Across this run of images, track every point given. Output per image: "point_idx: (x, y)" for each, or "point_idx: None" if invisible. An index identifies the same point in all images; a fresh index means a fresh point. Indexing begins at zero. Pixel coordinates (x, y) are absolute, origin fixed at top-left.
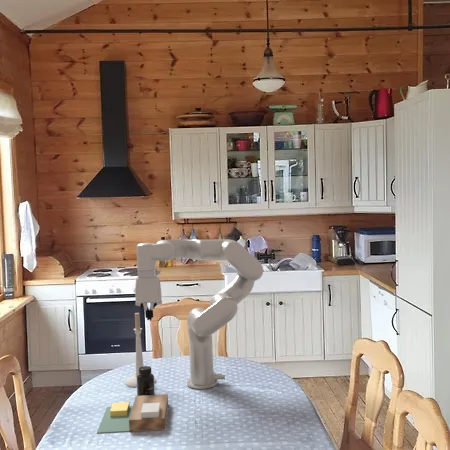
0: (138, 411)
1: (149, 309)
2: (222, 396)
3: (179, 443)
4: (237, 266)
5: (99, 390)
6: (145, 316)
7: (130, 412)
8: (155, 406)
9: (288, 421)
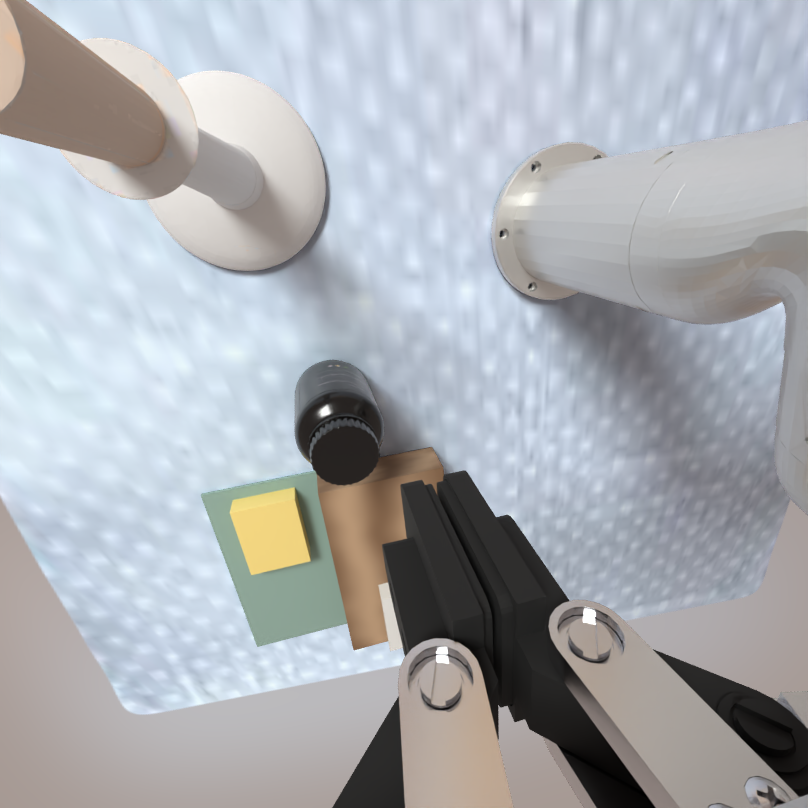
0: (366, 601)
1: (503, 636)
2: (614, 366)
3: None
4: None
5: (42, 306)
6: (393, 606)
7: (313, 525)
8: None
9: (731, 515)
